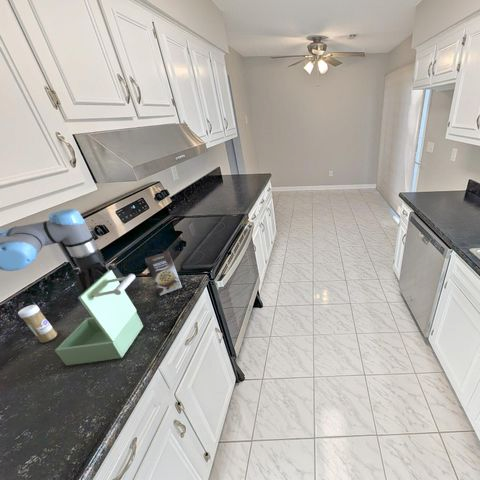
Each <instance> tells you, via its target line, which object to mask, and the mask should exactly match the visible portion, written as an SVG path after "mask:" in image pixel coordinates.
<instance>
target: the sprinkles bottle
mask: <svg viewBox="0 0 480 480" xmlns="http://www.w3.org/2000/svg"><path fill="white" fill-rule="evenodd" d="M17 314H18V316H19V317H20V318H21V319H23V321H24V322H25V323H26V325H27V327H28V328H29V329H30V330H31V331H32V333H33V334H34V336H36V337H37V339H38V340H39V343H47V342H50V341H51V340H53V339H54V338H56V337H57V336H58V332H57V331H56V330H55V329H54V328H53V325H52V324H51V323H50V322H49V320H48V319H47V318H46V317H45V315H44V314H43V312H42V311H41V310H40V307H39V306H38V305H37V304H30V305H28V306H25V307H23V308H21V309H20V310H19V311H18V312H17Z"/></svg>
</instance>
